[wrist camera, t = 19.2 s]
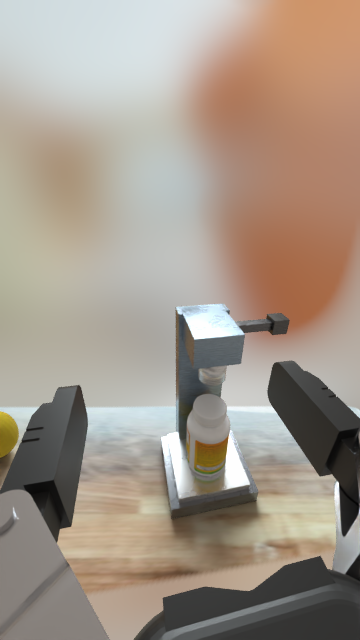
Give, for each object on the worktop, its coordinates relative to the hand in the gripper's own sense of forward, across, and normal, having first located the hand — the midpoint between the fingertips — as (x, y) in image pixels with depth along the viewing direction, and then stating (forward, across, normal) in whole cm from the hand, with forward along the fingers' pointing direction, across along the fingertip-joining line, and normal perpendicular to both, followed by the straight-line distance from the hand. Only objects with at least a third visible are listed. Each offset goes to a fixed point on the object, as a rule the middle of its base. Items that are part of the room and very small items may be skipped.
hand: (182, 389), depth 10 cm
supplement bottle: (+13, -6, +25) cm, 29 cm away
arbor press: (+14, -8, +28) cm, 32 cm away
